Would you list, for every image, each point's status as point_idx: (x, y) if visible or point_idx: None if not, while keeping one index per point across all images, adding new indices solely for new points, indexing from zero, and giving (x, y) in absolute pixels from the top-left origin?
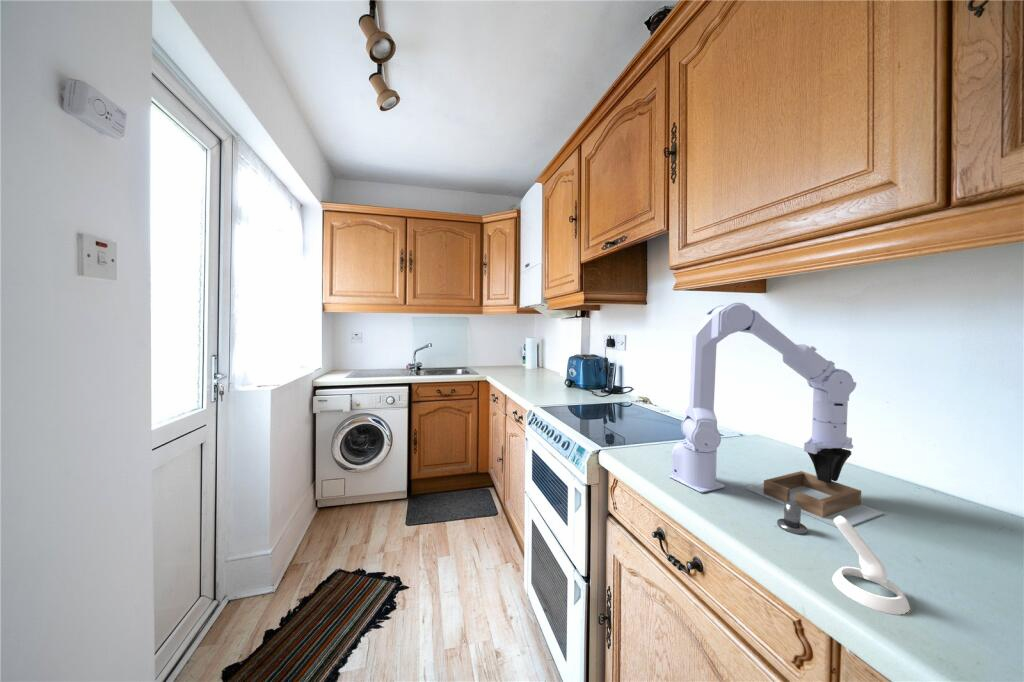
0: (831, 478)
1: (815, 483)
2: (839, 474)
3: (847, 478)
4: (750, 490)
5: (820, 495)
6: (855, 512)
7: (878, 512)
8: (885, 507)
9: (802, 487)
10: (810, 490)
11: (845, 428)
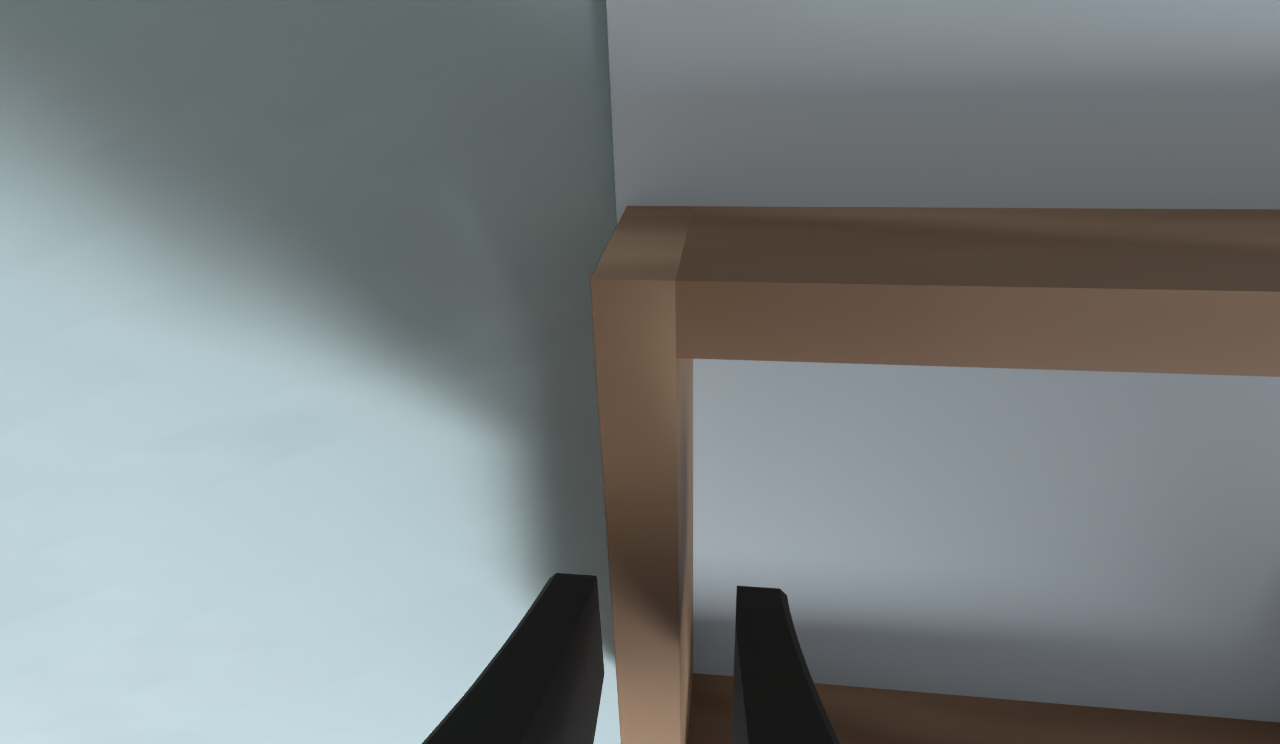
0: (759, 634)
1: (686, 649)
2: (520, 641)
3: (7, 565)
4: None
5: (808, 512)
6: (1006, 112)
7: None
8: (344, 49)
9: None
10: None
11: None
